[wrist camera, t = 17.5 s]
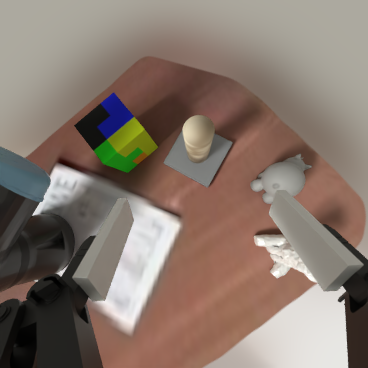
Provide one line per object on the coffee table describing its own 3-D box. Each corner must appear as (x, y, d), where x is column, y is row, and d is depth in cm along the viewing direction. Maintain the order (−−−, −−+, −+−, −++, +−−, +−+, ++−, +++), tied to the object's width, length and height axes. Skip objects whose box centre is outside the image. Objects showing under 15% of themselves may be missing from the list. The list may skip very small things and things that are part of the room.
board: (164, 163, 37) (163, 162, 36) (188, 122, 38) (188, 120, 36) (207, 187, 36) (207, 187, 35) (231, 144, 36) (232, 142, 35)
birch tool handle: (183, 157, 36) (176, 136, 24) (193, 139, 36) (192, 109, 24) (202, 167, 35) (204, 151, 23) (212, 148, 35) (220, 123, 23)
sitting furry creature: (250, 235, 34) (279, 256, 22) (285, 219, 34) (333, 230, 22) (271, 276, 33) (314, 320, 21) (307, 259, 33) (372, 294, 21)
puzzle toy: (134, 119, 39) (113, 92, 29) (158, 147, 38) (144, 129, 28) (105, 144, 39) (74, 125, 29) (127, 172, 38) (103, 164, 28)
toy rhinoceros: (292, 179, 37) (331, 165, 29) (265, 209, 32) (304, 201, 25) (272, 157, 38) (305, 137, 30) (243, 184, 33) (273, 168, 25)
